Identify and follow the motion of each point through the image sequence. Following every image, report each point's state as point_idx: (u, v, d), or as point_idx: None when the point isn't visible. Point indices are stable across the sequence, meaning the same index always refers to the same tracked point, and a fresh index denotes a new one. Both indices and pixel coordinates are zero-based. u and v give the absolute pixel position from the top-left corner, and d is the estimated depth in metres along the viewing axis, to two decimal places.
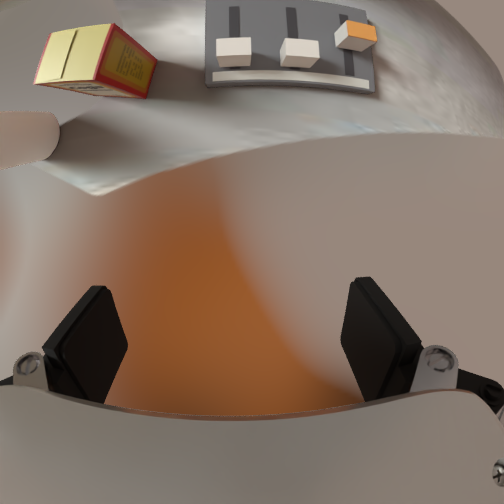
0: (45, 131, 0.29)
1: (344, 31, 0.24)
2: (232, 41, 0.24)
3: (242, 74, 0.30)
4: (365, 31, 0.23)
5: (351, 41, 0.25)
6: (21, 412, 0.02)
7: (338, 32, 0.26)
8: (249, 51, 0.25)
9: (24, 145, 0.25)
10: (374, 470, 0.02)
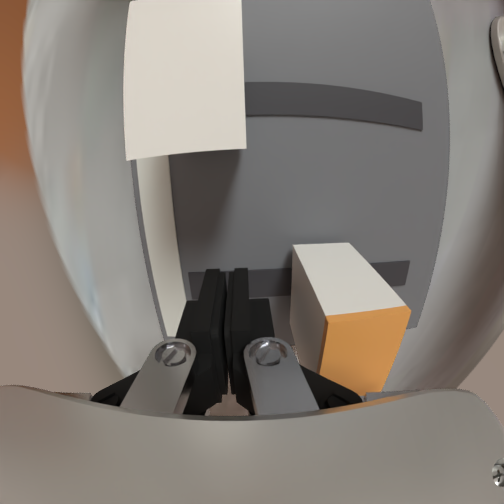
0: None
1: (351, 294, 0.07)
2: None
3: None
4: (354, 379, 0.07)
5: (308, 313, 0.09)
6: (21, 412, 0.02)
7: (352, 259, 0.10)
8: None
9: None
10: (374, 470, 0.02)
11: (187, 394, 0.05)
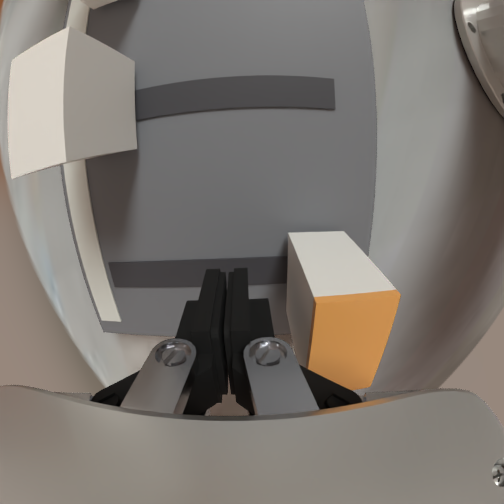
0: None
1: (341, 278, 0.08)
2: None
3: (80, 5, 0.07)
4: (345, 364, 0.08)
5: (300, 298, 0.09)
6: (21, 412, 0.02)
7: (345, 246, 0.10)
8: None
9: None
10: (374, 470, 0.02)
11: (187, 394, 0.05)
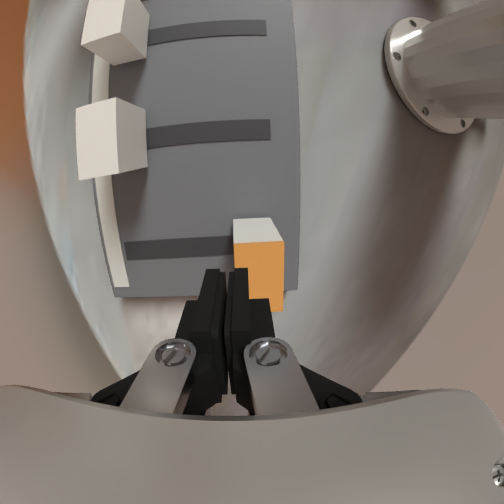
0: None
1: (252, 236, 0.14)
2: (115, 6, 0.08)
3: (102, 59, 0.13)
4: (259, 288, 0.14)
5: None
6: (21, 412, 0.02)
7: (265, 224, 0.17)
8: (88, 40, 0.09)
9: None
10: (374, 470, 0.02)
11: (187, 394, 0.05)
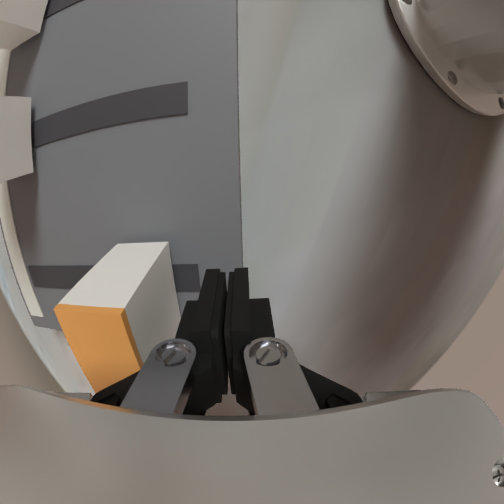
0: None
1: (94, 290, 0.07)
2: None
3: None
4: (109, 372, 0.07)
5: None
6: (21, 412, 0.02)
7: (144, 258, 0.10)
8: None
9: None
10: (374, 470, 0.02)
11: (187, 394, 0.05)
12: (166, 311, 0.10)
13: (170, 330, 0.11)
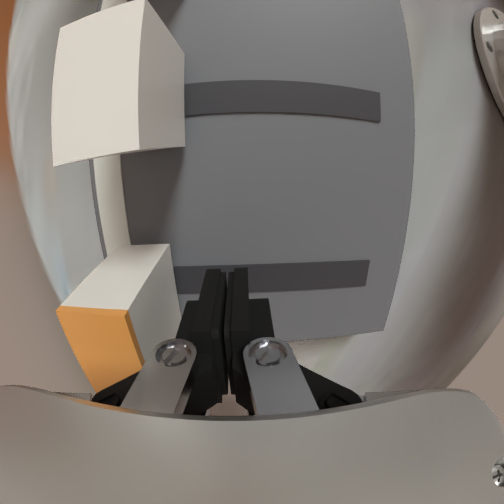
0: None
1: (97, 292, 0.07)
2: None
3: None
4: (111, 374, 0.07)
5: None
6: (21, 412, 0.02)
7: (146, 260, 0.10)
8: None
9: None
10: (374, 470, 0.02)
11: (188, 394, 0.05)
12: (168, 313, 0.10)
13: (171, 332, 0.11)
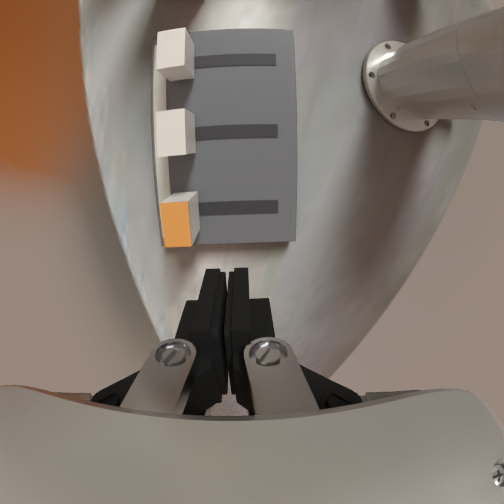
0: None
1: (174, 200, 0.23)
2: (178, 45, 0.17)
3: (160, 75, 0.22)
4: (175, 230, 0.23)
5: None
6: (21, 412, 0.02)
7: (189, 194, 0.25)
8: (161, 66, 0.18)
9: None
10: (374, 470, 0.02)
11: (187, 394, 0.05)
12: (196, 217, 0.26)
13: (197, 227, 0.27)
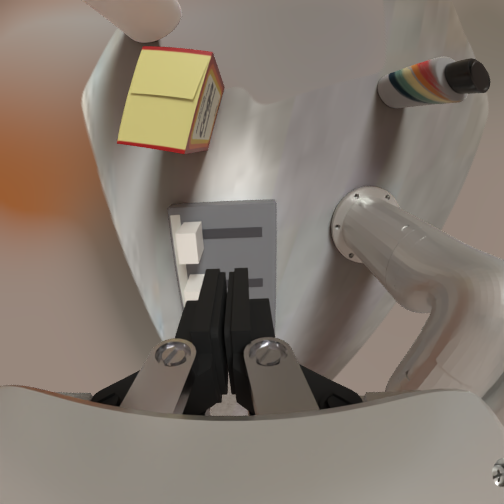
0: (141, 33, 0.24)
1: None
2: (192, 247, 0.33)
3: None
4: None
5: None
6: (21, 412, 0.02)
7: None
8: (182, 262, 0.33)
9: (116, 21, 0.19)
10: (374, 470, 0.02)
11: (187, 394, 0.05)
12: None
13: None
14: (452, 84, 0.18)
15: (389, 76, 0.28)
